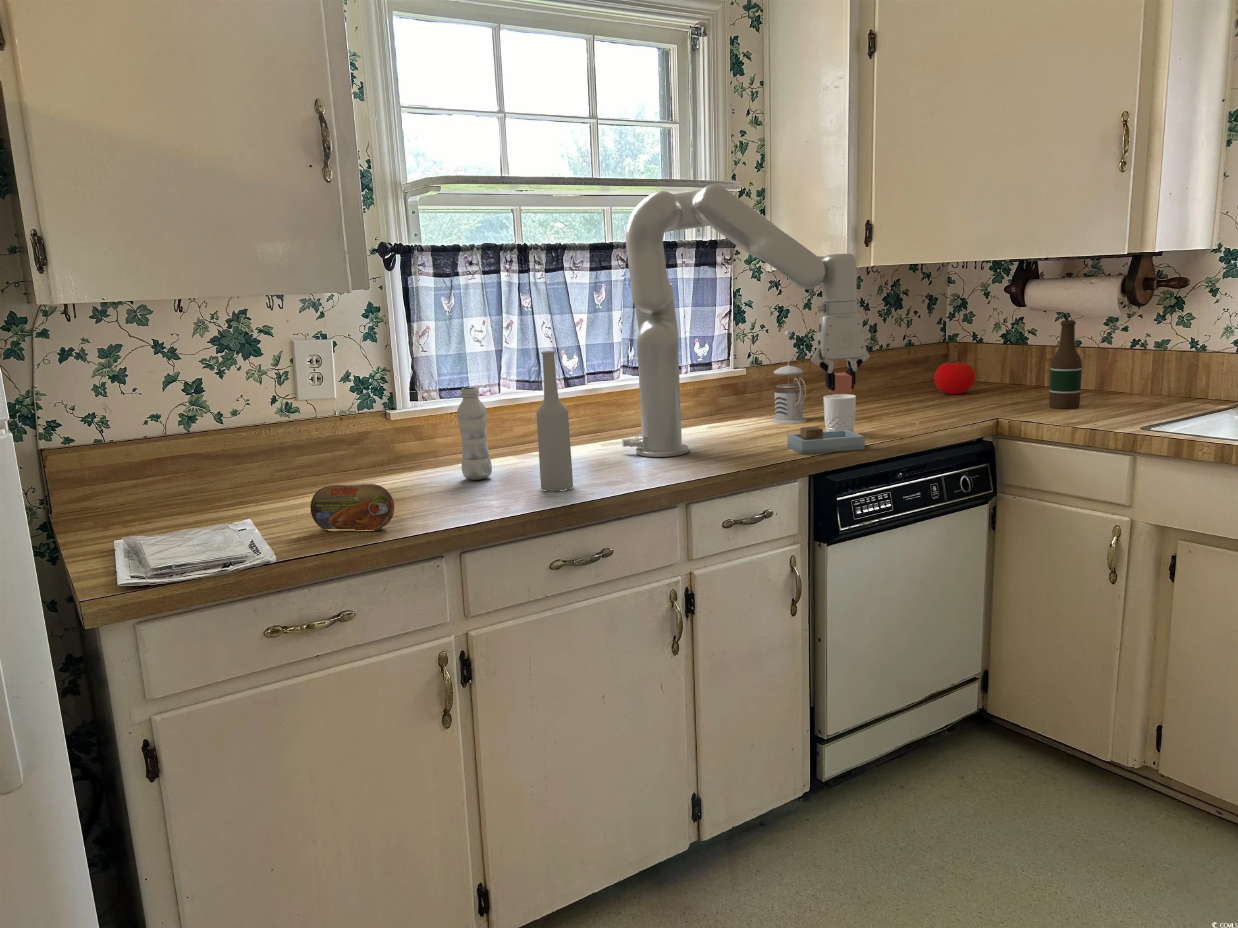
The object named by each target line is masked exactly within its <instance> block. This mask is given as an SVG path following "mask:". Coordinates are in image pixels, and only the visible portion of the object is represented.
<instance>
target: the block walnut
mask: <svg viewBox="0 0 1238 928" xmlns="http://www.w3.org/2000/svg"><path fill="white" fill-rule="evenodd" d="M799 429H800V430H799V431H800V438H802V439H804V440H813V439H823V431H824V429H823V428H821V427H819V426H803V427H800V428H799Z"/></svg>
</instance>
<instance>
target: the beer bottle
mask: <svg viewBox="0 0 1238 928" xmlns="http://www.w3.org/2000/svg"><path fill="white" fill-rule="evenodd" d="M1075 325H1077V323H1076V320H1074V319H1064V320H1061V322H1060V326H1061V331H1060V337H1059V338H1060V339H1059V345H1058V349H1057V351H1056V352H1055V353H1054V354H1053V357H1052V358H1051V359H1052V360H1051V361H1050V367H1049V370H1050V371H1049V372H1050V373H1049V391H1048V393H1049V396H1048V405H1049V408H1051V409H1052V410H1053V409H1056V410H1075V409H1079V407H1080V402H1081V392H1082V391H1081V388H1082V387H1081V386H1082V372H1083V371H1082V369H1083V368H1082V367H1083V365H1082V362H1083V361H1082V359H1081V356H1080V354H1079V353H1078V351H1077V349H1076V338H1075V336H1076V335H1075V331H1076V330H1075V329H1076V328H1075V327H1076V326H1075Z"/></svg>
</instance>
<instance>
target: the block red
mask: <svg viewBox="0 0 1238 928" xmlns="http://www.w3.org/2000/svg"><path fill="white" fill-rule="evenodd" d="M833 373H834V374H835V390H828V391H829V393H831V394H832V395H835V394H851V393H852V389H851V387H852V376H850V375H849V374H847V373H846V371H845V372H833Z"/></svg>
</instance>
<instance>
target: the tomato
mask: <svg viewBox="0 0 1238 928" xmlns="http://www.w3.org/2000/svg"><path fill="white" fill-rule="evenodd" d="M933 379H934V380H933V381H934V384H935V386H936V387H937V389H938V390H939V391H940V392H942V393H943V394H944V393H945V394H947V395H961V394H963V393H965V392H967V391H968V390H970V389H971V388H972V387H973V386H974V384H975V381H976V371H975V370H974V368H973V366H971V365H970V364H968V363H967V362H962V361H957V360H953V361H947V362H946V361H945V362H944V363H942V364H941V365H939V366H938V367H937V368H936V370H935V373H934V376H933Z"/></svg>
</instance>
